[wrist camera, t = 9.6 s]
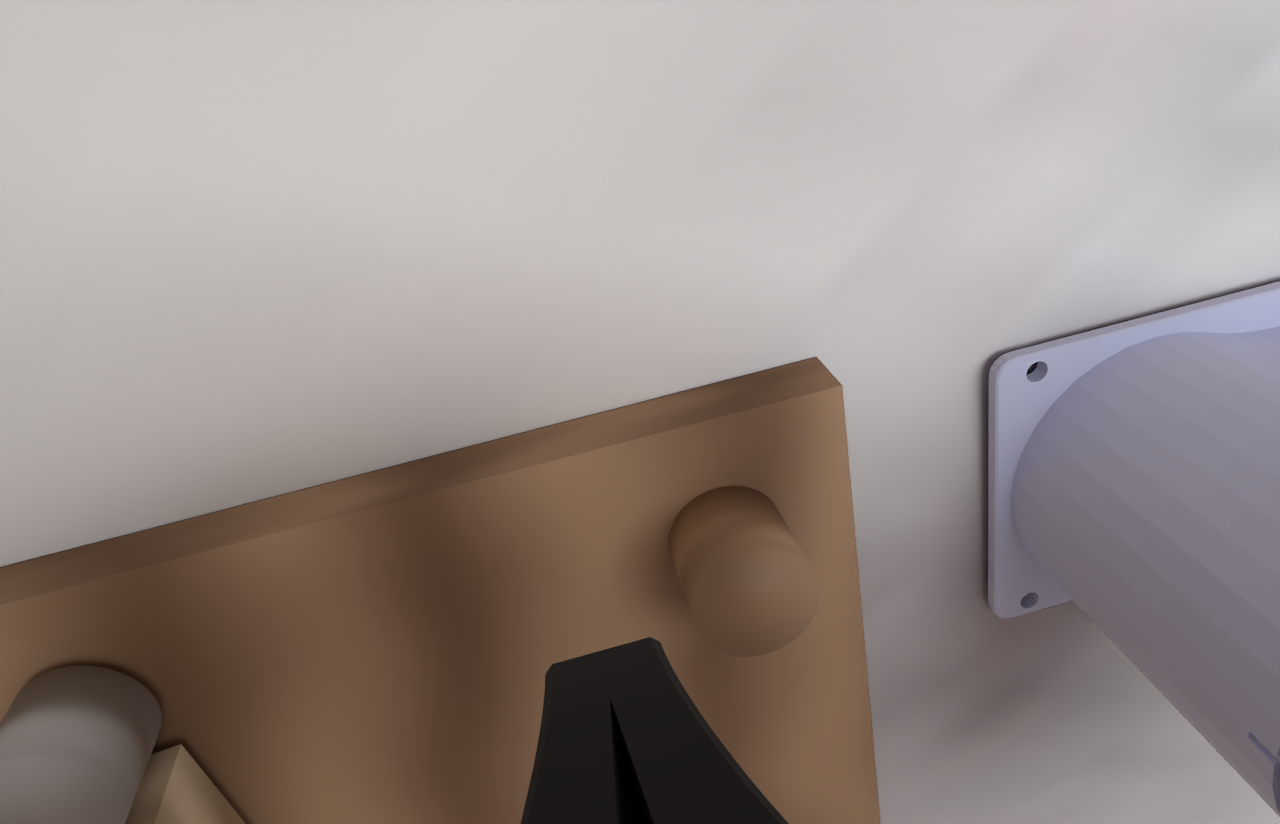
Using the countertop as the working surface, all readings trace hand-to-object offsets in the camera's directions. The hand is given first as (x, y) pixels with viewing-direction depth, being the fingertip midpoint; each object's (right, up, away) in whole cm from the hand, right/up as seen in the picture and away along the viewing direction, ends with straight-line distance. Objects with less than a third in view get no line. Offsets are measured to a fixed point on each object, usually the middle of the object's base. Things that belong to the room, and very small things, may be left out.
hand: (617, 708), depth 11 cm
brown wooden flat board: (-4, -6, +13) cm, 15 cm away
